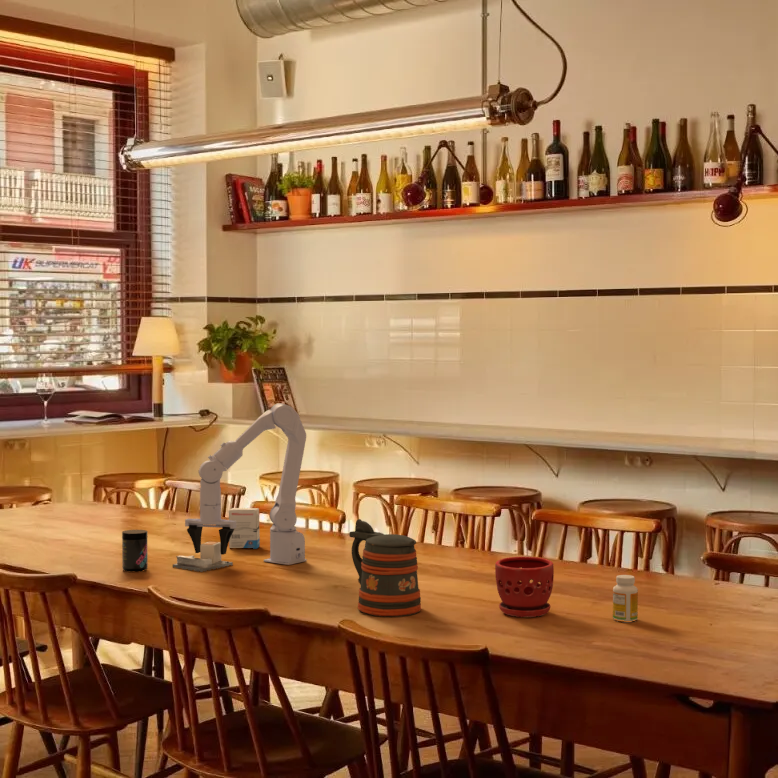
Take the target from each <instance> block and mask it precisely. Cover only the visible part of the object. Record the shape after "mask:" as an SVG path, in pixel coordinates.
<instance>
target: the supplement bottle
mask: <svg viewBox="0 0 778 778" xmlns="http://www.w3.org/2000/svg"><path fill="white" fill-rule="evenodd" d="M615 579H616V580H615V582H616V585H614V586H613V588H612V619H613V618H614V619H617V620H624V621H633V620H637V621H638V618H639V617H638V611H639V609H638V608H639V607H638V605H639V604H638V603H639V602H638V601H639V600H638V599H639V597H638V596H639V589H638V587H637V586H635V585H634V584H636V583H635V582H636V578H635V576H634V575H631V574H620V575H619V574H618V575H616V578H615ZM614 619H613V620H614Z"/></svg>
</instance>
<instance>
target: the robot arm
mask: <svg viewBox="0 0 778 778" xmlns="http://www.w3.org/2000/svg"><path fill="white" fill-rule="evenodd" d="M276 427H278V428H279V429H280V430H281V431H282V432H283V434H284V435H285V436H286V437H287V445H286V451H285V457H284V461H283V465H282V466H283V467H282V472H281V476H280V477H281V478H280V483H279V488H278V493H277V496H276V497H275V501H274V505H273V506H272V508H271V509H270V511H269V519H270V521H271V522H272V526H271V527H270V528H269V533H270V534H269V544H270V545H269V547H270V548H269V549H270V550H269V554H270V556H269V558H266V559H263V562H266V563H273V564H278V565H279V564H280V565H286V566H287V565H288V566H289V565H294V564H299V563H303V562H307V561H308V559H306V539H305V535H304V534H303V532H300V531H298V530H297V527H296V524H297V519H298V518H297V515H296V508H297V504H296V502H297V501H296V497H297V496H296V495H297V491H298V490H297V489H298V485H299V479H300V474H301V468H302V464H303V457H304V451H305V447H306V441H307V432H306V429H305V428H304V425H303V423H302V420H301V416H300V415H299V413H298V412H297V411H296V410H295V409H294V408H293V407H292V406H291V405H289V404H285V403H282V402H280V403H276V404H275V403H274V405H273V406H271V408H270V409H267V410H266V411H265V412H264V413H262V414H261V415H260V416H258V418H256V419H255V421H253V422H252V423H251V424H250V425H249V426H248V427H247V428H246V429H245V430H244V431H243V433H241V435H239V436H238V437H237V438H236V439H235V440H227V441H226V442H225V441H223V442H222V443H221V444H220V448H219V449H218V450H216V452H214V453H213V454H212V455H211V454H209V456H208V457H207V458H208V460H205V461H204V462H202V463H201V464H200V466H199V469H198V475H199V477H200V483H199V485H200V488H199V511H200V512H199V518H186V519H184V526H185V527H188V528H187V529H186V531H187V533H188V535H189V538H190V539H191V541H192V545H193V548H194V553H195V554H200V545H201V544H202V534H203V533H202V532H203V528H217V529H218V528H220V529H218V533H219V540H220V541H219V542H221V548H220V551H221V556H223V555H226V554H227V550H228V547H229V540H230V537H231V535H232V533H233V531H234V528H236V521H232V520H229V519H222V488H221V479H222V477H223V472H227V471H228V470H229V469H230V468H231V467H232V466H233V465H234V464H235V463H236V462H237V461H239V460H240V459H241V458H242V457H243V452H244V451H243V450H244V449H245V448H246V447H247V446H248V445H250V444H251V443H252V442H253V441H254V440H256V439H257V438H258V436H260V435H262V433H264V432H265V431H268V430H269V431H270V430H274V429H276Z"/></svg>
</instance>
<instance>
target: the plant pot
mask: <svg viewBox="0 0 778 778" xmlns="http://www.w3.org/2000/svg"><path fill="white" fill-rule="evenodd" d="M494 568H495V569H494V570H495V572H494V573H495V584H496V589H497V593H498V595H499V598H500V600H501V602H500V603H499V604H498V607H499V609H500V611H501V613H503V614H505V615H507V616H511V617H514V616H516V618H522V617H530V618H537V617H536V616H538V617H539V616H540V617H543V616H544V615H546V614H548V613H549V611H550V609H551V604H550V603H548V601H549V600H550V597H551V595H552V592H553V586H554V576H555V575H554V572H555V571H554V563H553V561H551V560H549V559H547V558H545V557H544V558H543V557H536V556H511V557H510V556H509V557H504V558H500V559H499V560H497V561H496V562H495V566H494ZM530 581H532V582H530Z"/></svg>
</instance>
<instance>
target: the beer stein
mask: <svg viewBox="0 0 778 778" xmlns="http://www.w3.org/2000/svg"><path fill="white" fill-rule="evenodd" d="M348 534H349V535H348V536H349V538H354V539H353V542H352V545H351V558H352V562H353V566H354V569H355V570H356V572H357V575H358V579H357V581H358V583H359V585H360V588H359V589H358V602H357V609H358V611H359V612H361V613H363V614H365V615H369V616H373V617H380V618H381V617H384V618H396V617H397V618H398V617H408V616H413V615H416V614H418V613H419V612H420V611H421V610H422V607H421V606H422V604H421V602H422V601H421V600H422V597H421V589H420V587H419V579H418V569H419V567H418V565H419V564H418V556H417V550H416V549H415V545H416V544H417V541H416V540H415V539H414V538H411V537H410V536H408V535H403V534H396V533H395V534H393V533H392V534H391V533H389V534H387V533H386V534H384V533H383V532H378V531H374V529H373V527H372V526H371V524H369V523H368V522H367V521H366V520H362V519H360V518H359V519H356V521H355V528H354V530H353V531H350V532H349V533H348ZM362 541H365V544H364V548H363V550H362V556H361V555H360V552H359V549H360V545H361V542H362Z"/></svg>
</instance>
